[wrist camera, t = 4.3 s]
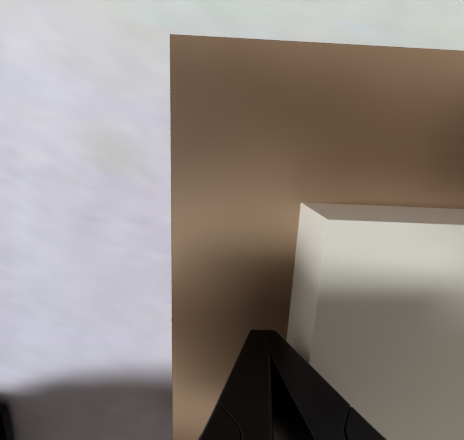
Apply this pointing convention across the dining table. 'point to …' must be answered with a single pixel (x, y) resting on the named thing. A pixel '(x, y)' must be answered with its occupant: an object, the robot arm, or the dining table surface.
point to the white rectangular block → (384, 313)
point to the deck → (287, 176)
